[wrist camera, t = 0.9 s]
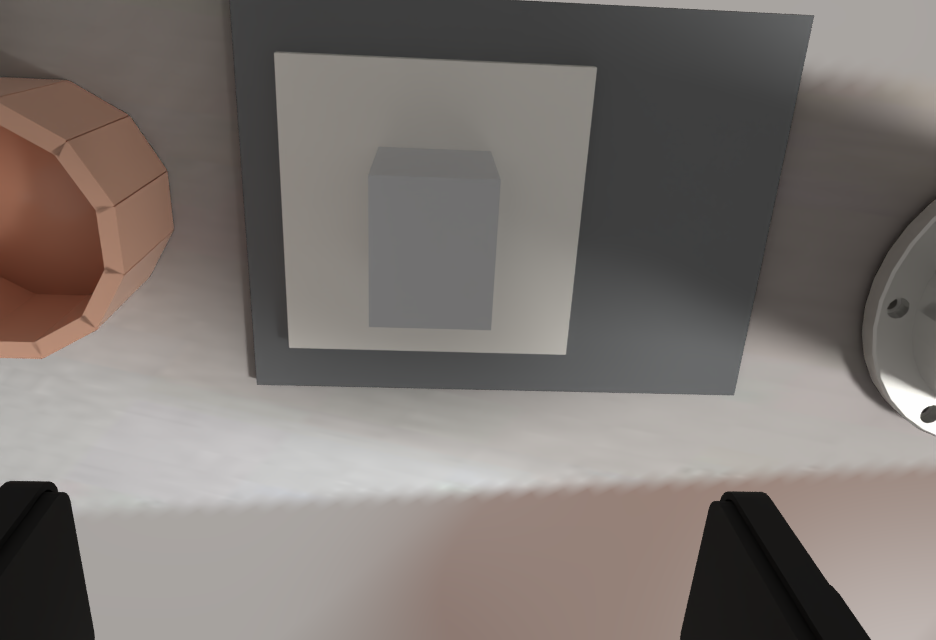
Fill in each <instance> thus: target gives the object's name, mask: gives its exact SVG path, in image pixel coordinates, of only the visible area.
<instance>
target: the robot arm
mask: <svg viewBox="0 0 936 640" xmlns="http://www.w3.org/2000/svg"><path fill="white" fill-rule="evenodd" d="M862 340H863V351H864V359H865V362H866V365H867V368H868V371H869V374H870V377H871V380H872V381H873V383H874V384H875V386H876V387H877V389H878V391H879V392H880V394H881V395H882V397H883V398H884V399H885V400H886V401H887V402H888V403H889V404H890V405H891V406H892V407H893V408H894V409H895V410H896V411H897V412H898V413H899V414H900V415H901V416H902V417H903V418H905V419H906V420H907V421H909V422H910V423H911V424H912V425H914V426H915V427H916V428H918V429H920V430H922V431H924V432H926V433H929V434H931V435H933V436H936V199H935V200H934V201H932V202H931V203H930V204H929V205H928V206H927V207H926V208H925V209H924V210H923V211H922V212H921V213H920V214H919V215H918V216H917V217H916V218H915V219H914V220H913V221H912V222H911V223H910V224H909V225H908V226H907V228H906V229H905V230H904V232H903V233H902V234H901V235H900V237H899V238H898V239H897V241H896V242H895V243H894V245H893V246H892V247H891V249H890V250H889V251H888V253H887V255H886V257H885V259H884V261H883V263H882V265H881V267H880V268H879V270H878V272H877V274H876V276H875V278H874V280H873V284H872V287H871V290H870V293H869V296H868V299H867V302H866V305H865V311H864V319H863V328H862ZM0 640H95V636H94V629H93V623H92V617H91V612H90V606H89V601H88V595H87V590H86V584H85V579H84V573H83V568H82V562H81V556H80V551H79V546H78V540H77V534H76V529H75V523H74V518H73V512H72V507H71V501H70V498H69V496H68V494H67V493H65V492H58V489H57V487H56V486H55V484H54V483H52V482H43V481H9V482H6V483H4V484H3V485H2V486H1V487H0ZM680 640H871V639H870V638H869V636H868V635H867V633H866V632H865V630H864V629H863V628H862V626H861V625H860V623H859V622H858V621H857V619H856V617H855V616H854V614H853V613H852V612H851V610H850V609H849V607H848V606H847V605H846V603H845V601H844V600H843V599H842V597H841V596H840V594H839V593H838V592H837V591H836V590H835V589H834V588H833V586H831V585H829V583H828V582H827V580H826V579H825V577H824V576H823V574H822V573H821V572H820V570H819V569H818V567H817V566H816V564H815V563H814V561H813V560H812V558H811V557H810V555H809V554H808V553H807V551H806V550H805V548H804V547H803V545H802V544H801V543H800V541H799V539H798V538H797V536H796V535H795V534H794V532H793V531H792V529H791V528H790V526H789V525H788V523H787V522H786V520H785V519H784V518H783V516H782V515H781V513H780V512H779V510H778V509H777V507H776V506H775V504H774V503H773V501H772V500H771V499H770V497H769V496H768V495H767V494H766V493H763V492H725V493H724V494H723V495H722V497H721V500H720V501H714V502H712V503H711V505H710V507H709V510H708V515H707V519H706V524H705V528H704V532H703V537H702V541H701V546H700V550H699V555H698V559H697V563H696V568H695V573H694V577H693V581H692V586H691V590H690V595H689V599H688V603H687V608H686V612H685V617H684V621H683V625H682V630H681V636H680Z"/></svg>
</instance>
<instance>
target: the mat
mask: <svg viewBox="0 0 936 640" xmlns="http://www.w3.org/2000/svg"><path fill="white" fill-rule="evenodd" d="M230 14H231V28H232V42H233V56H234V70H235V84H236V98H237V112H238V126H239V140H240V154H241V168H242V182H243V196H244V210H245V224H246V238H247V252H248V266H249V280H250V294H251V308H252V322H253V336H254V350H255V364H256V378H257V385H296V386H341V387H385V388H430V389H475V390H520V391H564V392H609V393H654V394H699V395H734V392H735V388H736V383H737V378H738V374H739V369H740V364H741V359H742V355H743V350H744V345H745V340H746V336H747V331H748V326H749V322H750V317H751V312H752V307H753V303H754V298H755V293H756V288H757V284H758V279H759V274H760V269H761V265H762V260H763V255H764V251H765V246H766V241H767V236H768V232H769V227H770V222H771V217H772V213H773V208H774V203H775V198H776V194H777V189H778V184H779V180H780V175H781V170H782V165H783V161H784V156H785V151H786V146H787V142H788V137H789V132H790V128H791V123H792V118H793V113H794V109H795V104H796V99H797V94H798V90H799V85H800V80H801V75H802V71H803V66H804V61H805V57H806V52H807V47H808V42H809V38H810V33H811V28H812V23H813V18H814V15H796V14H777V13H757V12H737V11H718V10H697V9H678V8H659V7H639V6H618V5H600V4H580V3H560V2H541V1H540V2H539V1H520V0H230ZM277 51H278V52H300V53H321V54H343V55H364V56H386V57H408V58H429V59H451V60H473V61H494V62H516V63H537V64H559V65H581V66H595V67H597V74H596V83H595V92H594V101H593V110H592V119H591V129H590V138H589V147H588V156H587V165H586V174H585V184H584V193H583V202H582V211H581V220H580V230H579V239H578V248H577V257H576V266H575V275H574V285H573V294H572V303H571V312H570V321H569V331H568V340H567V349H566V355H554V354H514V353H474V352H434V351H394V350H354V349H315V348H289V337H288V317H287V298H286V278H285V259H284V239H283V220H282V200H281V181H280V161H279V142H278V122H277V103H276V83H275V64H274V53H275V52H277Z"/></svg>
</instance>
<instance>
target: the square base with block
mask: <svg viewBox="0 0 936 640" xmlns="http://www.w3.org/2000/svg"><path fill="white" fill-rule="evenodd" d="M274 64H275V83H276V103H277V122H278V142H279V161H280V181H281V200H282V220H283V239H284V259H285V278H286V298H287V317H288V337H289V348H315V349H354V350H394V351H434V352H474V353H514V354H554V355H566V349H567V340H568V331H569V321H570V312H571V303H572V294H573V285H574V275H575V266H576V257H577V248H578V239H579V230H580V220H581V211H582V202H583V193H584V184H585V174H586V165H587V156H588V147H589V138H590V129H591V119H592V110H593V101H594V92H595V83H596V74H597V67H595V66H581V65H559V64H537V63H516V62H494V61H473V60H451V59H429V58H408V57H386V56H364V55H343V54H321V53H300V52H278V51H277V52H275V53H274Z"/></svg>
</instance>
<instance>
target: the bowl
mask: <svg viewBox="0 0 936 640" xmlns="http://www.w3.org/2000/svg"><path fill="white" fill-rule="evenodd" d="M173 229H174V225H173V216H172V207H171V198H170V189H169V180H168V171H167V169H166V168H165V166H164V165H163V164H162V162H161V161H160V159H159V158H158V156H157V155H156V153H155V152H154V150H153V149H152V148H151V146H150V145H149V143H148V142H147V140H146V139H145V137H144V136H143V134H142V133H141V132H140V130H139V129H138V127H137V126H136V124H135V123H134V121H133V120H132V118H131V117H130V116H128V114H126V113H124V112H123V111H121V110H119V109H118V108H116V107H114V106H112V105H111V104H109V103H107V102H105V101H104V100H102V99H100V98H98V97H97V96H95V95H93V94H92V93H90V92H88V91H86V90H85V89H83V88H81V87H79V86H78V85H76V84H74V83H72V82H71V81H68V80H56V79H33V78H10V77H1V78H0V358H31V359H42V358H45V357H47V356H49V355H50V354H52V353H54V352H56V351H58V350H60V349H62V348H64V347H65V346H67V345H69V344H71V343H73V342H75V341H77V340H79V339H81V338H82V337H84V336H86V335H88V334H90V333H92V332H94V331H96V330H97V329H98V328H99V327H100V326H101V325H102V324H103V323H104V322H105V321H106V320H107V319H108V318H109V317H110V316H111V315H112V314H113V313H114V312H115V311H116V310H117V309H118V308H119V307H120V306H121V305H122V304H123V303H124V302H125V301H126V300H127V299H128V298H129V297H130V296H131V295H132V294H133V293H134V292H135V291H136V290H137V289H138V288H139V287H140V286H141V285H142V284H143V283H144V282H145V281H146V280H147V279H148V278H149V277H150V276H151V274H152V272H153V270H154V268H155V266H156V264H157V262H158V260H159V258H160V256H161V254H162V252H163V250H164V248H165V246H166V244H167V242H168V240H169V238H170V237H171V235H172V233H173V231H174V230H173Z"/></svg>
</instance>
